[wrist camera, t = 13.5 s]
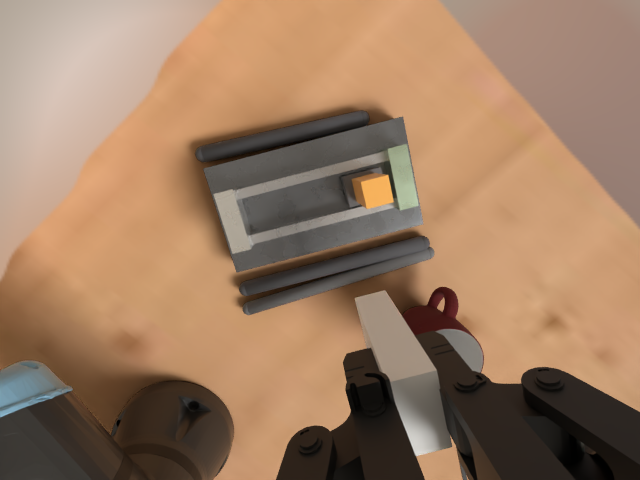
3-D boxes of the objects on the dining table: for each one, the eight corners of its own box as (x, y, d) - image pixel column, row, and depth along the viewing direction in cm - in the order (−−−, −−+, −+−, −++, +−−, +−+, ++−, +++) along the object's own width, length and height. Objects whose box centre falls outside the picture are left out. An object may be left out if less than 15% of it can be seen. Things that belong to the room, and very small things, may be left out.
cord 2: (246, 313, 44) (244, 318, 43) (242, 302, 44) (239, 307, 42) (432, 255, 44) (437, 258, 42) (429, 243, 43) (434, 246, 42)
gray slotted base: (241, 265, 43) (231, 281, 37) (210, 168, 40) (194, 169, 34) (415, 220, 43) (432, 228, 37) (395, 119, 40) (411, 112, 34)
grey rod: (242, 294, 44) (240, 299, 42) (238, 281, 43) (236, 286, 42) (427, 246, 44) (432, 250, 42) (425, 233, 43) (430, 235, 41)
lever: (347, 204, 39) (358, 215, 30) (340, 176, 38) (350, 179, 30) (382, 195, 39) (403, 204, 30) (376, 166, 38) (396, 167, 30)
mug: (395, 269, 44) (422, 299, 34) (457, 278, 45) (500, 310, 35) (379, 345, 46) (399, 393, 36) (437, 352, 47) (473, 402, 37)
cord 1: (200, 163, 40) (195, 163, 38) (196, 148, 40) (191, 147, 38) (368, 126, 40) (372, 124, 38) (366, 110, 40) (368, 107, 38)
